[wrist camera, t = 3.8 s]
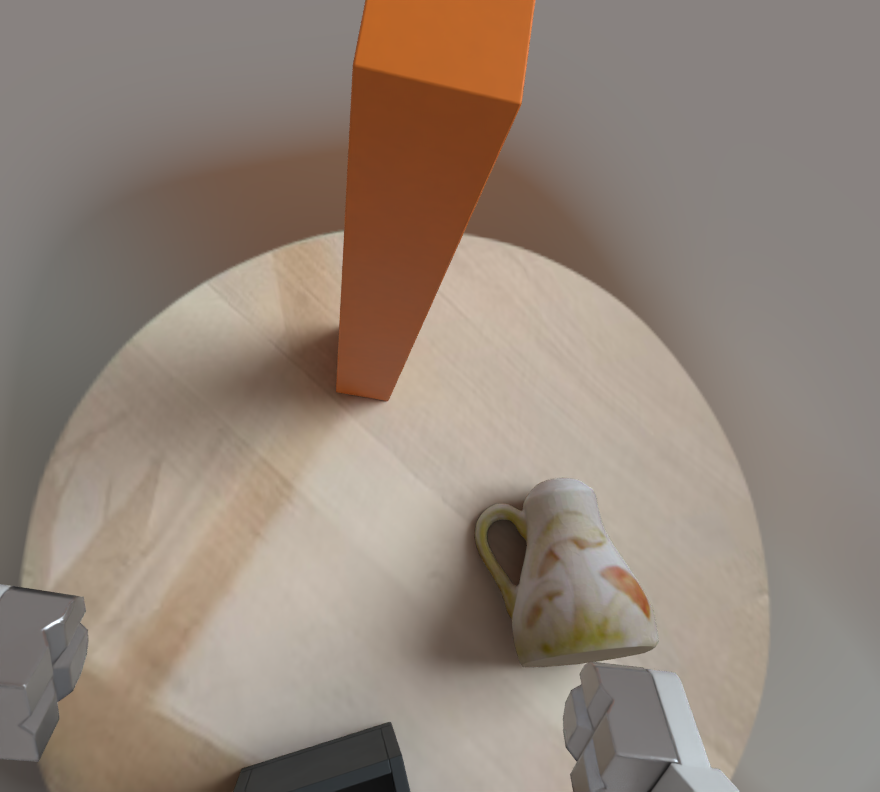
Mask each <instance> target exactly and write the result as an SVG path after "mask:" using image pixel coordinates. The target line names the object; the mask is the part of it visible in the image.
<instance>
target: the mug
mask: <svg viewBox="0 0 880 792" xmlns="http://www.w3.org/2000/svg"><path fill="white" fill-rule="evenodd" d="M504 519H505V520H510V521H511V522H513V523H514V524H515V526H516V528H517V530H518V532H519V533H520V534H521V536H522V537H523V538H524V539H525V540H526V541H527V549H526V554H525V559H524V564H523V568H522V572H521V577H520V582H519V585H518V586H515V585H514V584H513V583H512V582H511V580H510V579H509V577H508V576H507V575H506V574H505V572H504V571H503V570H502V568H501V567H500V565H499V563H498V562H497V560H496V559H495V557H494V555H493V553H492V552H491V549H490V547H489V545H488V541H487V531H488V528H489V527H490V526H491V524H492V523H493V522H495V521H498V520H504ZM475 540H476V545H477V549H478V552H479V554H480V557H481V559H482V560H483V562H484V563H485V565H486V567H487V568H488V570H489V571H490V573H491V575H492V576H493V578H494V580H495V582H496V584H497V586H498V588H499V589H500V591H501V593H502V596H503V599H504V602H505V606H506V609H507V612H508V614H509V616H510V618H511V619H512V629H513V639H514V643H515V647H516V652H517V655H518V658H519V661H520V664H521V665H522V667H548V666H559V665H571V664H581V663H588V662H596V661H603V660H609V659H615V658H621V657H626V656H631V655H637V654H641V653H645V652H648V651H650V650H652V649H653V648H655V647H656V645H657V644H658V642H659V640H658V633H657V626H656V620H655V615H654V610H653V608H652V605H651V603H650V601H649V599H648V597H647V596H646V593H645V592H644V590H643V588H642V587H641V585H640V583H639V582H638V580H637V579H636V577H635V576H634V574H633V573H632V571H631V570H630V568H629V567H628V566H627V564H626V563H625V561H624V560H623V558H622V557H621V555H620V554H619V552H618V551H617V549H616V548H615V547H614V545H613V543H612V542H611V540H610V539H609V537H608V535H607V533H606V531H605V529H604V526H603V524H602V521H601V517H600V513H599V508H598V504H597V498H596V495H595V492H594V490H593V489H592V488H590V487H589V486H587V485H586V484H585V483H583V482H581V481H579V480H576V479H571V478H557V479H550V480H546V481H544V482H541V483H539V484H538V485H536V486H535V487H534V488H533V489H532V490H531V491H530V493H529V494H528V496H527V498H526V499H525V501H524V504H523V510H522V511H520V510H518V509H516V508H514V507H513V506H511V505H508V504H494V505H492V506H491V507H489V508H488V509H486V510H485V511H484V512H483V513H482V514H481V516H480V517H479V519H478V521H477V523H476V529H475Z"/></svg>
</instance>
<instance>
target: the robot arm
mask: <svg viewBox="0 0 880 792" xmlns="http://www.w3.org/2000/svg"><path fill="white" fill-rule="evenodd" d="M85 612H86V608H85V601H84V597H81V596H75V595H68V594H62V593H55V592H48V591H42V590H35V589H29V588H22V587H15V586H9V585H2V584H0V759H9V760H23V761H37V762H39V760H40V758H41V755H42V753H43V751H44V749H45V747H46V745H47V743H48V741H49V739H50V737H51V735H52V733H53V731H54V729H55V727H56V725H57V723H58V721H59V711H58V704H57V702H58V701H60V700H61V699H63V698H64V697H65V696H67V695H68V694H70V693H71V692H72V691H73V690H74V688H75V685H76V683H77V681H78V679H79V677H80V675H81V672H82V669H83V665H84V662H85V659H86V655H87V649H88V630H87V629H86V628H85V627H84V626H83V625H82V624H81V623H80V622H81V620H82V618H83V616H84V614H85ZM580 679H581V685H580V686H578V687H576V688H574V689H572V690H571V692H570V694H569V696H568V698H567V700H566V702H565V709H564V715H563V733H564V739H565V746H566V748H567V750H568V751H569V752H570V754H571V755H572V756H573V757H574V759H575V760H576V761H577V763H576V765H575V767H574V768H573V770H572V772H571V774H570V776H571V782H572V787H573V792H740V791H739V790H738V789H737V788H736V786H735V785H734V784H733V783H732V782H731V781H730V780H729V779H728V778H727V777H726V775H725V774H724V773H723V772H722V771H721V770H720V769H717V768H711V766H710V763H709V760H708V757H707V754H706V751H705V749H704V746H703V743H702V740H701V737H700V734H699V731H698V729H697V726H696V723H695V720H694V717H693V714H692V711H691V708H690V706H689V703H688V700H687V697H686V694H685V691H684V688H683V686H682V683H681V680H680V678H679V677H678V676H677V674H676V673H674V672H668V671H660V670H651V669H644V668H642V667H633V666H624V665H616V664H607V663H598V662H589V663H587V664H585V665H584V667H583V669H582V671H581V672H580Z"/></svg>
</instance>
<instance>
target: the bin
mask: <svg viewBox="0 0 880 792" xmlns="http://www.w3.org/2000/svg"><path fill="white" fill-rule="evenodd" d="M233 792H410V788H409V784H408V779H407V775H406V771H405V766H404V762H403V758H402V754H401V751H400V748H399V745H398V742H397V739H396V736H395V733H394V730H393V727H392V724H391V722H389V723H385V724H382V725H379V726H376V727H373V728H370V729H366V730H363V731H360V732H357V733H354V734H351V735H347V736H344V737H341V738H338V739H335V740H332V741H328V742H325V743H322V744H319V745H316V746H313V747H309V748H306V749H303V750H300V751H297V752H294V753H290V754H287V755H284V756H281V757H278V758H275V759H271V760H268V761H265V762H262V763H259V764H256V765H252V766H249V767H246V768H243V769H241V772H240V775H239V778H238V780H237V783H236V786H235V789H234V791H233Z"/></svg>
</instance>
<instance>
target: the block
mask: <svg viewBox="0 0 880 792" xmlns="http://www.w3.org/2000/svg"><path fill="white" fill-rule="evenodd" d="M534 6H535V0H365V6H364V11H363V16H362V21H361V26H360V31H359V36H358V41H357V46H356V52H355V57H354V62H353V73H352V92H351V111H350V131H349V150H348V169H347V189H346V208H345V227H344V247H343V266H342V285H341V305H340V324H339V343H338V363H337V382H336V392H338V393H344V394H350V395H356V396H362V397H367V398H373V399H379V400H385V401H388V400H389V398H390V396H391V394H392V392H393V389H394V387H395V385H396V383H397V380H398V378H399V376H400V374H401V371H402V369H403V367H404V365H405V363H406V360H407V358H408V356H409V354H410V351H411V349H412V347H413V345H414V343H415V340H416V338H417V336H418V334H419V331H420V329H421V327H422V325H423V322H424V320H425V318H426V316H427V314H428V311H429V309H430V307H431V305H432V302H433V300H434V298H435V296H436V293H437V291H438V289H439V287H440V285H441V282H442V280H443V278H444V276H445V273H446V271H447V269H448V267H449V265H450V262H451V260H452V258H453V256H454V253H455V251H456V249H457V247H458V244H459V242H460V240H461V238H462V236H463V233H464V231H465V229H466V226H467V224H468V222H469V220H470V218H471V215H472V213H473V211H474V209H475V206H476V204H477V202H478V200H479V198H480V195H481V193H482V191H483V189H484V186H485V184H486V182H487V180H488V178H489V175H490V173H491V171H492V169H493V166H494V164H495V162H496V160H497V158H498V155H499V153H500V151H501V149H502V146H503V144H504V142H505V140H506V137H507V135H508V133H509V131H510V128H511V126H512V124H513V122H514V119H515V117H516V115H517V113H518V111H519V109H520V106H521V104H522V97H523V89H524V81H525V74H526V67H527V59H528V52H529V44H530V37H531V29H532V21H533V14H534Z"/></svg>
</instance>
